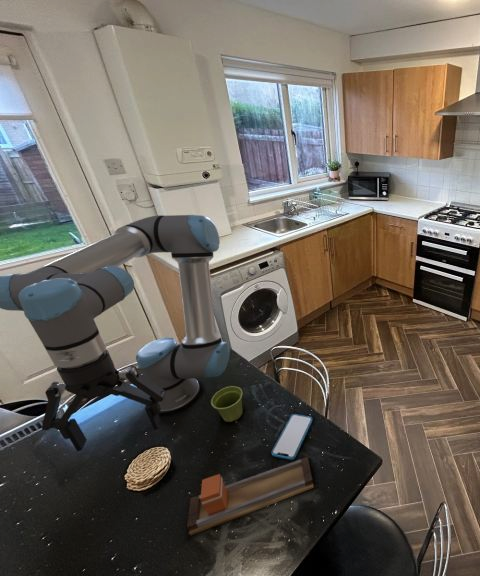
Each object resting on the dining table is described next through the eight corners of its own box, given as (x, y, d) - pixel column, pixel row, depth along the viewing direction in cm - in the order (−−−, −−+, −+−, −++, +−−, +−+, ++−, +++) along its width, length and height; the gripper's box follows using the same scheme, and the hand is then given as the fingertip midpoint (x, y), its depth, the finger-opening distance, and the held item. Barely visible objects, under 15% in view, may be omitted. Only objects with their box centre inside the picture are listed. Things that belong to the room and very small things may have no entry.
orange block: (211, 499, 81) (201, 479, 77) (228, 492, 83) (220, 473, 78) (209, 519, 77) (199, 499, 73) (228, 512, 79) (219, 492, 74)
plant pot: (236, 429, 101) (230, 411, 97) (211, 423, 102) (204, 405, 98) (253, 406, 109) (248, 388, 105) (229, 401, 110) (223, 384, 106)
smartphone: (313, 417, 104) (293, 458, 91) (313, 419, 105) (294, 461, 92) (292, 413, 105) (270, 453, 92) (292, 415, 106) (270, 456, 93)
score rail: (194, 502, 82) (190, 496, 80) (308, 461, 92) (307, 455, 90) (190, 535, 75) (186, 529, 74) (313, 487, 85) (312, 481, 84)
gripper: (-22, 388, 52) (37, 471, 61) (154, 353, 61) (183, 429, 70) (6, 362, 58) (56, 440, 67) (162, 333, 67) (187, 406, 76)
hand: (121, 435), depth 69 cm, fingers open, 13 cm apart
